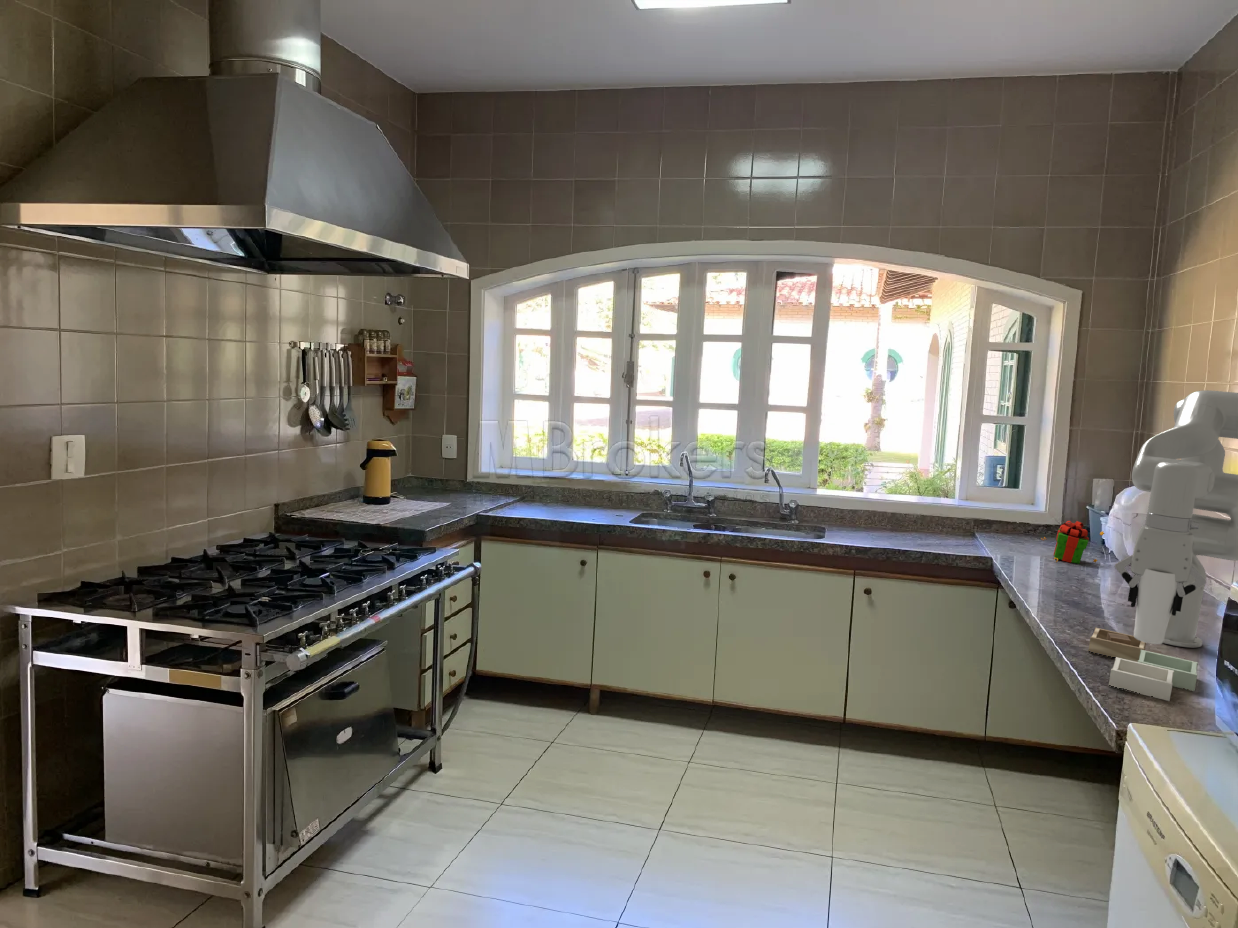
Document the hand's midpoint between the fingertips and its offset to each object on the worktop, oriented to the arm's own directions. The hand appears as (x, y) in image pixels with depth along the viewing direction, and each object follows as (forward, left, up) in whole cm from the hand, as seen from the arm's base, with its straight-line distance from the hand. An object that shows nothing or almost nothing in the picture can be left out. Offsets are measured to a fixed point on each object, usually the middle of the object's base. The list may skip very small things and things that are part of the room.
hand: (1153, 609), depth 174 cm
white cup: (0, 0, -7) cm, 7 cm away
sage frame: (-11, +4, -16) cm, 20 cm away
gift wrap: (-130, -29, -17) cm, 134 cm away
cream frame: (0, 0, -16) cm, 16 cm away
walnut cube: (-22, -6, -17) cm, 28 cm away
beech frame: (-22, -6, -16) cm, 28 cm away
